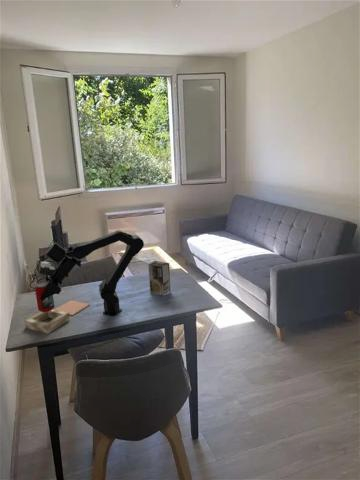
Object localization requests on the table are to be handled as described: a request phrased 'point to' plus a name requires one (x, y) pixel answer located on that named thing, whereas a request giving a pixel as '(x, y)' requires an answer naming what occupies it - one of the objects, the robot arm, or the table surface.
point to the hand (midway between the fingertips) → (41, 296)
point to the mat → (72, 307)
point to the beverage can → (47, 303)
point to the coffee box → (159, 277)
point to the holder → (57, 321)
